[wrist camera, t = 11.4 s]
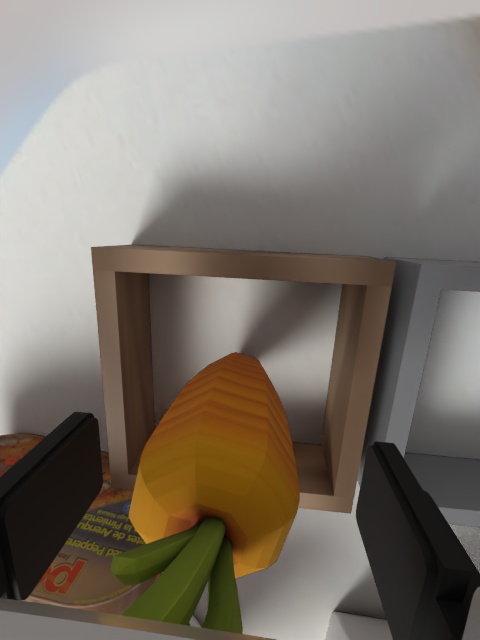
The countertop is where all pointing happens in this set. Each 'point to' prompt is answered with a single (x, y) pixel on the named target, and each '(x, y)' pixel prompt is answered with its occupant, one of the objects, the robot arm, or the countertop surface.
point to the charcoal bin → (405, 377)
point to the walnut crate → (138, 261)
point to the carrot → (211, 495)
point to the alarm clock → (357, 628)
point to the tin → (86, 545)
